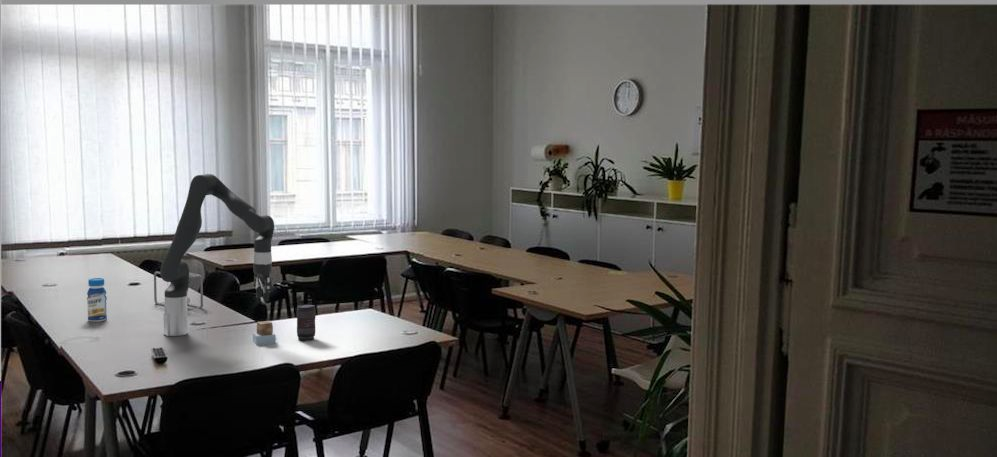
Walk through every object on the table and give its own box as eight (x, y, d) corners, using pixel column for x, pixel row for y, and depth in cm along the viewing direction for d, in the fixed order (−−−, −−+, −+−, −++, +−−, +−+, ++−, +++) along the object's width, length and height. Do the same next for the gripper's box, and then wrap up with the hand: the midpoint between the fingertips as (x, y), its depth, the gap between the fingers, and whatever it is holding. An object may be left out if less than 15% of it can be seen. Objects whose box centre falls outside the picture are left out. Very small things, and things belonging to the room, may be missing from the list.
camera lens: (319, 338, 351) (318, 304, 350) (309, 342, 344) (309, 308, 342) (302, 336, 354) (302, 303, 352) (293, 340, 346) (293, 306, 344)
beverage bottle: (111, 318, 382) (109, 277, 381) (100, 322, 374) (99, 280, 372) (94, 318, 383) (93, 277, 381) (83, 321, 375) (82, 280, 373)
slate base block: (256, 345, 337) (256, 336, 337) (252, 341, 344) (252, 332, 344) (275, 344, 341) (275, 334, 340) (271, 340, 348) (271, 331, 347)
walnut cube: (260, 335, 338) (260, 324, 338) (256, 333, 342) (256, 321, 342) (272, 334, 341) (272, 322, 341) (268, 332, 345) (268, 320, 345)
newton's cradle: (154, 304, 421) (153, 271, 420) (172, 301, 429) (171, 269, 428) (184, 311, 403) (184, 277, 401) (203, 308, 411) (202, 275, 409)
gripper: (248, 260, 343) (248, 297, 344) (260, 264, 331) (260, 303, 333) (265, 259, 347) (265, 296, 349) (277, 263, 336) (277, 301, 338)
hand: (262, 299), depth 341 cm, fingers open, 8 cm apart
